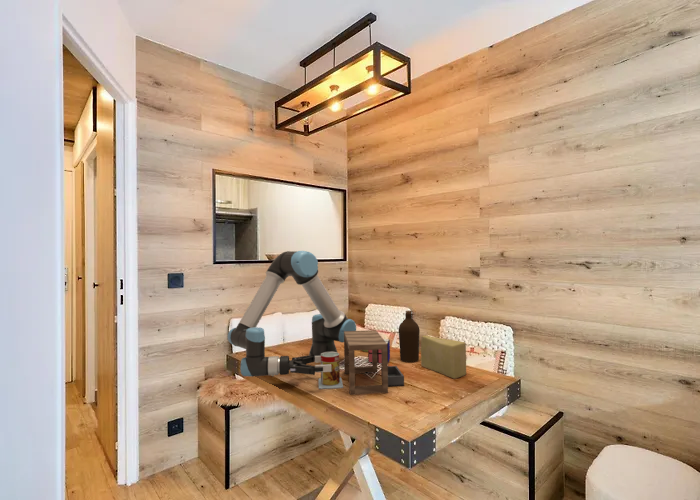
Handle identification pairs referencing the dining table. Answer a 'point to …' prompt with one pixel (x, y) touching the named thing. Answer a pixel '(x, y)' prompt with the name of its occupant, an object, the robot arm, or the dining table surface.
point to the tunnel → (365, 342)
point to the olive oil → (409, 339)
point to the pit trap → (394, 376)
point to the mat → (330, 386)
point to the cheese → (444, 356)
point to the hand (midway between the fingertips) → (330, 363)
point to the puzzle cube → (380, 353)
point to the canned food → (334, 375)
